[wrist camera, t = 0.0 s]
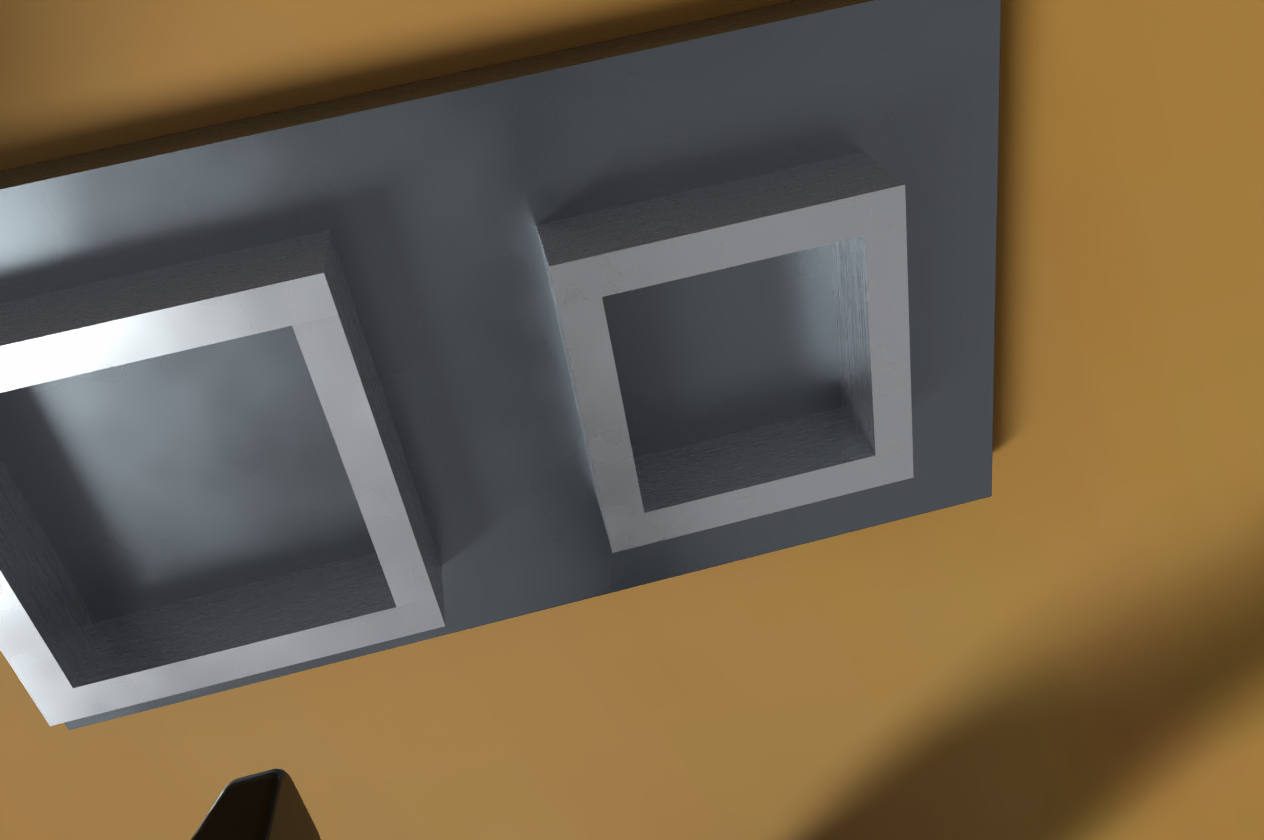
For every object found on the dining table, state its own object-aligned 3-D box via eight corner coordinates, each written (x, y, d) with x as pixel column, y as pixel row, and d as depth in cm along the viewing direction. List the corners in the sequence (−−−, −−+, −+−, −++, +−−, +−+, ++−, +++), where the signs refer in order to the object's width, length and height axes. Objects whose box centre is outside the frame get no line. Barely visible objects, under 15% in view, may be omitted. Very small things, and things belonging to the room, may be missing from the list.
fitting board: (969, 468, 27) (1032, 546, 25) (81, 691, 26) (45, 800, 23) (971, -38, 21) (1057, -8, 18) (-211, 217, 19) (-307, 290, 17)
